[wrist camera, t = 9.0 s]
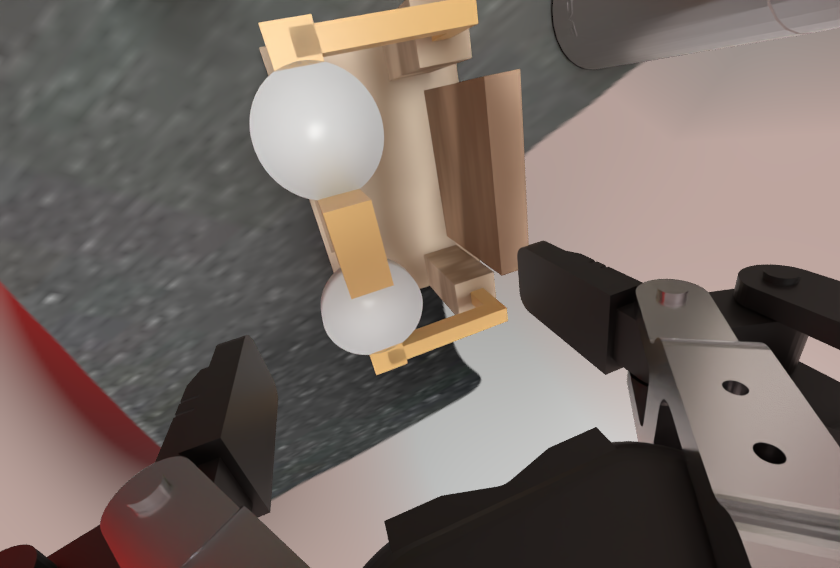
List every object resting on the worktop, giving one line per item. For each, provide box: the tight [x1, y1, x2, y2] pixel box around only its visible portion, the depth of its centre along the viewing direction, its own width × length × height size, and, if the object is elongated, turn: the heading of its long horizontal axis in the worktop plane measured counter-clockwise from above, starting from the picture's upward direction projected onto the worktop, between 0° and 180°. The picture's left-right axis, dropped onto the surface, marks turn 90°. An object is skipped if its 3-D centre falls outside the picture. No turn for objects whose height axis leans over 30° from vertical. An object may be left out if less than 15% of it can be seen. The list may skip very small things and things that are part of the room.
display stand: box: [259, 0, 528, 315], centre depth 24 cm, size 12×19×10 cm, turn 12°
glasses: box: [250, 0, 508, 375], centre depth 18 cm, size 11×18×6 cm, turn 12°
